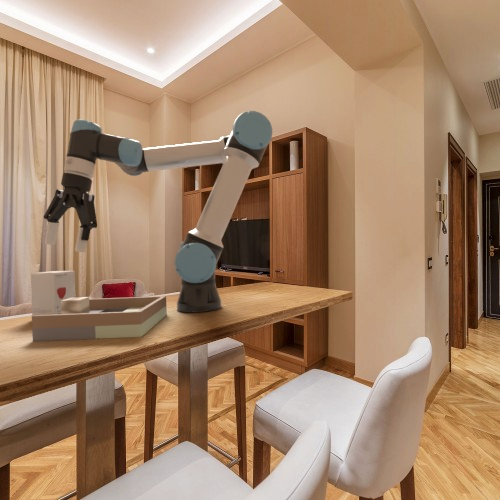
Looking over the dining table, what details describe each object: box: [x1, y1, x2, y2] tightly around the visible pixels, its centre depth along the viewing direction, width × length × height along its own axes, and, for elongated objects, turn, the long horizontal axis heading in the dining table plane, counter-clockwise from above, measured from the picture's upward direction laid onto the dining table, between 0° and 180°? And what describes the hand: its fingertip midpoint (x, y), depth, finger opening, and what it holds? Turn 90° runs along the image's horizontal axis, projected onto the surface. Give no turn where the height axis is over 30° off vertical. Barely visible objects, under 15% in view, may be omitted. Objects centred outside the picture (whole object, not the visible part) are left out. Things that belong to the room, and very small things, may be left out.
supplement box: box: [30, 270, 77, 317], centre depth 102 cm, size 9×9×15 cm
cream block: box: [61, 296, 90, 314], centre depth 87 cm, size 5×5×5 cm
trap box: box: [31, 295, 168, 342], centre depth 87 cm, size 26×24×6 cm
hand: (64, 248), depth 90 cm, fingers open, 13 cm apart
